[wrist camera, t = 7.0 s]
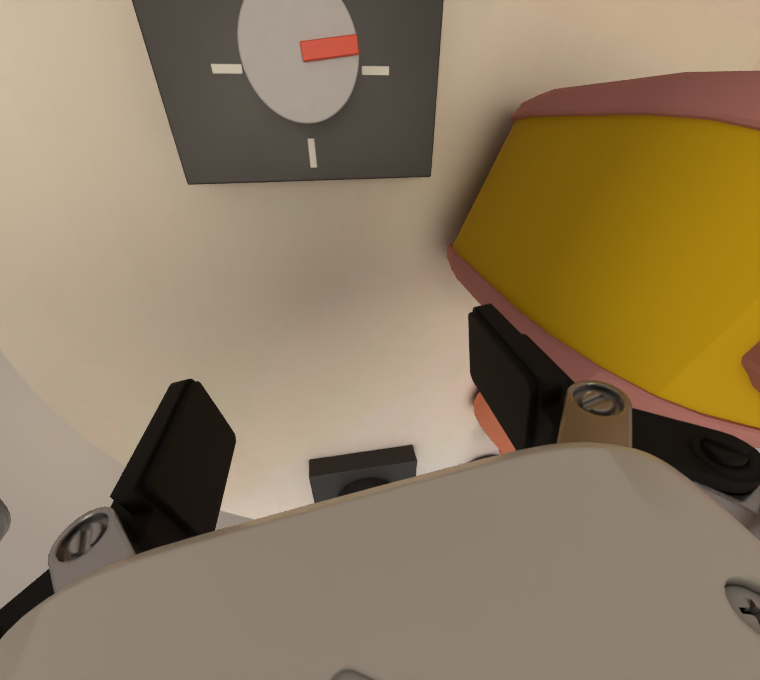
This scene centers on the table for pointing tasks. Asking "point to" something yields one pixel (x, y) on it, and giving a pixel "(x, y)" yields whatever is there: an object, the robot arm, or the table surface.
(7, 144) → the table surface
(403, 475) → the switch block
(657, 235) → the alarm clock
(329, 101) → the timer dial
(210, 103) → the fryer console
